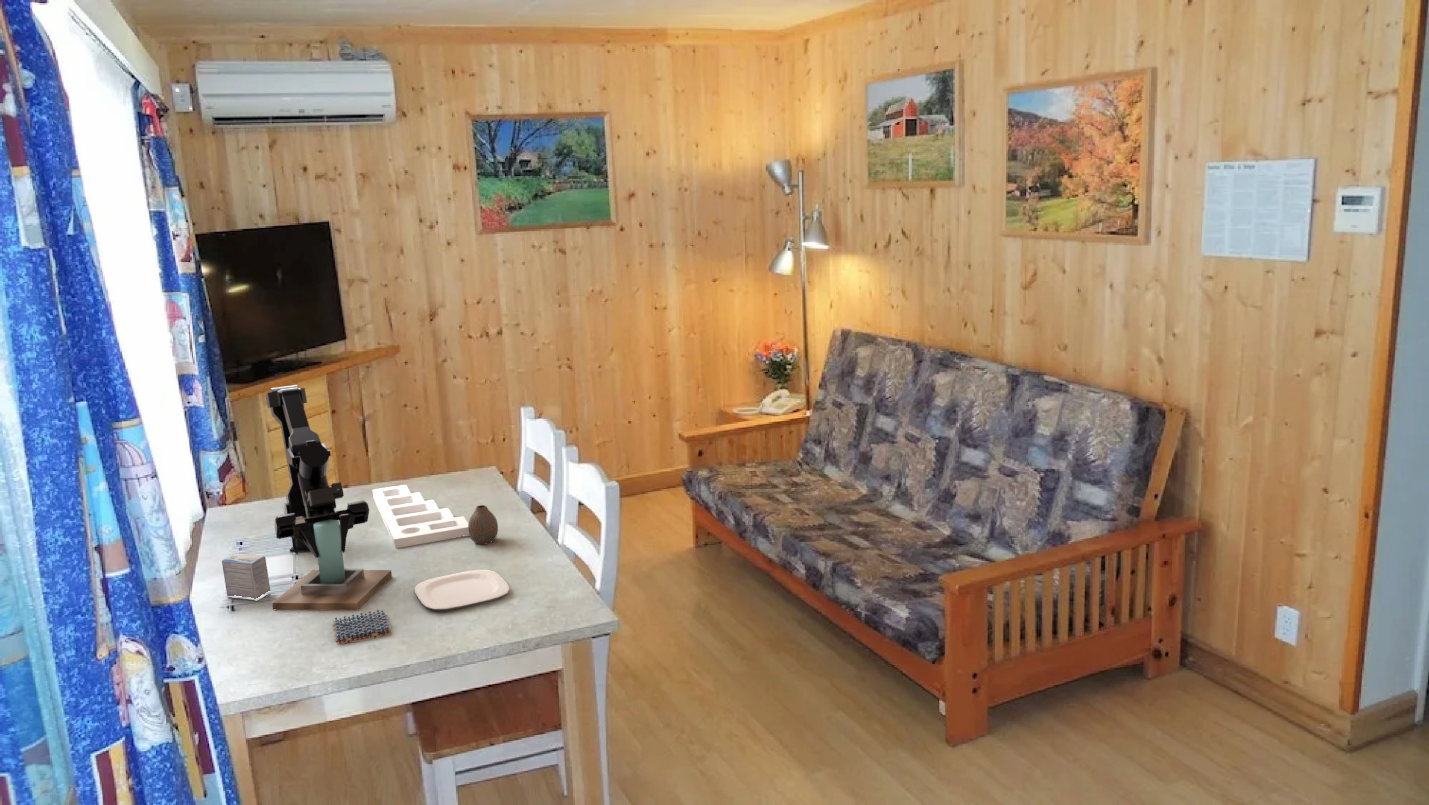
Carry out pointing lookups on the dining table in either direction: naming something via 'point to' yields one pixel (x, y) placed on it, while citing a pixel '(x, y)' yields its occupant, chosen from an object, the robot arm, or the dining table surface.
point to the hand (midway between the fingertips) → (330, 554)
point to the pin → (329, 552)
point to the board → (333, 591)
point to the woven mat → (361, 627)
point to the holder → (416, 517)
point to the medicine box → (246, 575)
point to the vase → (482, 525)
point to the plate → (461, 589)
